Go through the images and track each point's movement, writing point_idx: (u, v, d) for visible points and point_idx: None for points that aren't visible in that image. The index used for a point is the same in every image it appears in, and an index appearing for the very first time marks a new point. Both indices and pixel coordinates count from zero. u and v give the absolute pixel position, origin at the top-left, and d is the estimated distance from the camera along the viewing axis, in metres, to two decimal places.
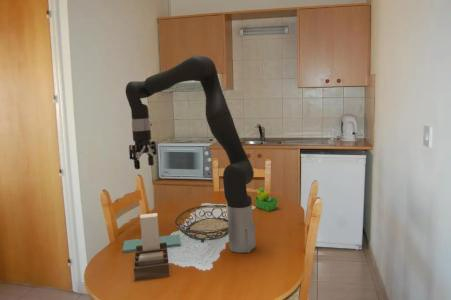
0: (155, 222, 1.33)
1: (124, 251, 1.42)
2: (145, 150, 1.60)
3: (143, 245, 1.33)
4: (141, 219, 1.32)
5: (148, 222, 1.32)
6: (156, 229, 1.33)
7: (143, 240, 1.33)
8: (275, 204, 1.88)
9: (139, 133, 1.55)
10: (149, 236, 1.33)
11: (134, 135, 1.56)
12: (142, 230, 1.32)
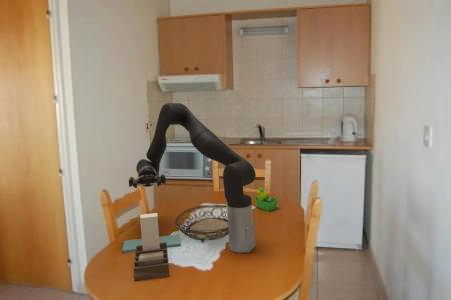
0: (155, 222, 1.33)
1: (124, 251, 1.42)
2: (147, 177, 1.51)
3: (143, 245, 1.33)
4: (141, 219, 1.32)
5: (148, 222, 1.32)
6: (156, 229, 1.33)
7: (143, 240, 1.33)
8: (275, 204, 1.88)
9: (139, 173, 1.57)
10: (149, 236, 1.33)
11: None
12: (142, 230, 1.32)
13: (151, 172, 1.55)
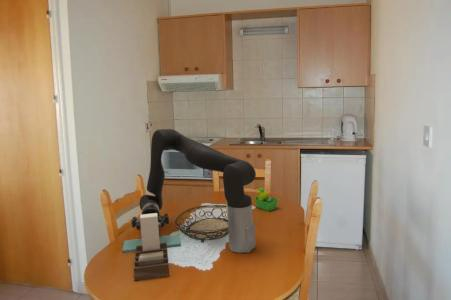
0: (155, 222, 1.33)
1: (124, 251, 1.42)
2: None
3: (143, 245, 1.33)
4: (141, 219, 1.32)
5: (148, 222, 1.32)
6: (156, 229, 1.33)
7: (143, 240, 1.33)
8: (275, 204, 1.88)
9: (142, 211, 1.55)
10: (149, 236, 1.33)
11: None
12: (142, 230, 1.32)
13: (154, 211, 1.53)
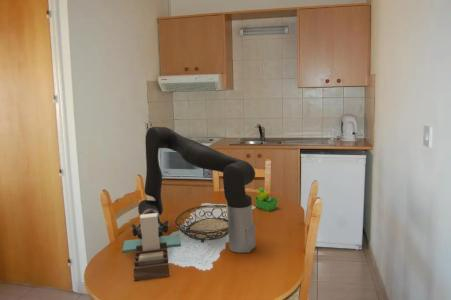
0: (155, 222, 1.33)
1: (124, 251, 1.42)
2: None
3: (143, 245, 1.33)
4: (141, 219, 1.32)
5: (148, 223, 1.32)
6: (156, 229, 1.33)
7: (143, 240, 1.33)
8: (275, 204, 1.88)
9: None
10: (149, 236, 1.33)
11: None
12: (142, 230, 1.32)
13: None
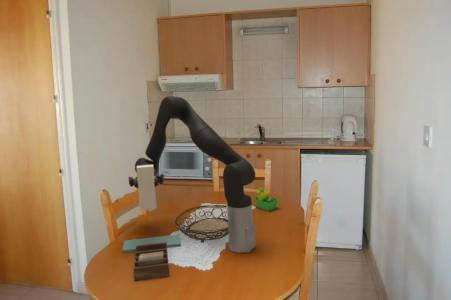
0: (151, 172, 1.38)
1: (124, 251, 1.42)
2: None
3: (139, 194, 1.38)
4: (137, 169, 1.37)
5: (144, 172, 1.37)
6: (152, 179, 1.38)
7: (139, 189, 1.38)
8: (275, 204, 1.88)
9: None
10: (145, 185, 1.38)
11: None
12: (138, 180, 1.37)
13: None
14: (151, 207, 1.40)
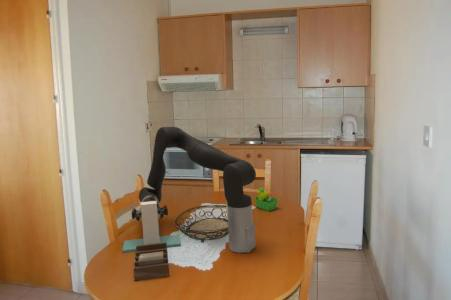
0: (154, 209, 1.45)
1: (124, 251, 1.42)
2: None
3: (143, 230, 1.46)
4: (142, 206, 1.44)
5: (148, 209, 1.45)
6: (155, 215, 1.46)
7: (143, 225, 1.45)
8: (275, 204, 1.88)
9: None
10: (149, 221, 1.46)
11: None
12: (143, 216, 1.45)
13: None
14: (155, 242, 1.47)
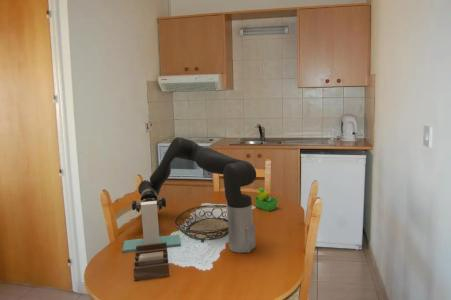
0: (154, 209, 1.45)
1: (124, 251, 1.42)
2: None
3: (143, 230, 1.46)
4: (142, 206, 1.44)
5: (148, 209, 1.45)
6: (155, 215, 1.46)
7: (143, 225, 1.45)
8: (275, 204, 1.88)
9: (141, 196, 1.69)
10: (149, 221, 1.46)
11: None
12: (143, 216, 1.45)
13: (152, 195, 1.67)
14: (155, 242, 1.47)
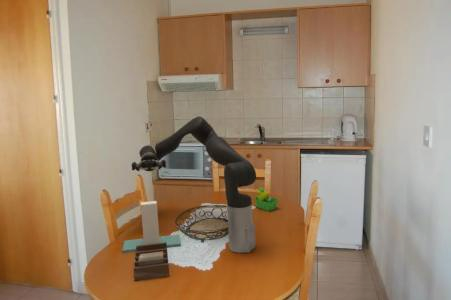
0: (154, 209, 1.45)
1: (124, 251, 1.42)
2: (149, 162, 1.61)
3: (143, 230, 1.46)
4: (142, 206, 1.44)
5: (148, 209, 1.45)
6: (155, 215, 1.46)
7: (143, 225, 1.45)
8: (275, 204, 1.88)
9: (141, 158, 1.68)
10: (149, 221, 1.46)
11: None
12: (143, 216, 1.45)
13: (152, 157, 1.66)
14: (155, 242, 1.47)
